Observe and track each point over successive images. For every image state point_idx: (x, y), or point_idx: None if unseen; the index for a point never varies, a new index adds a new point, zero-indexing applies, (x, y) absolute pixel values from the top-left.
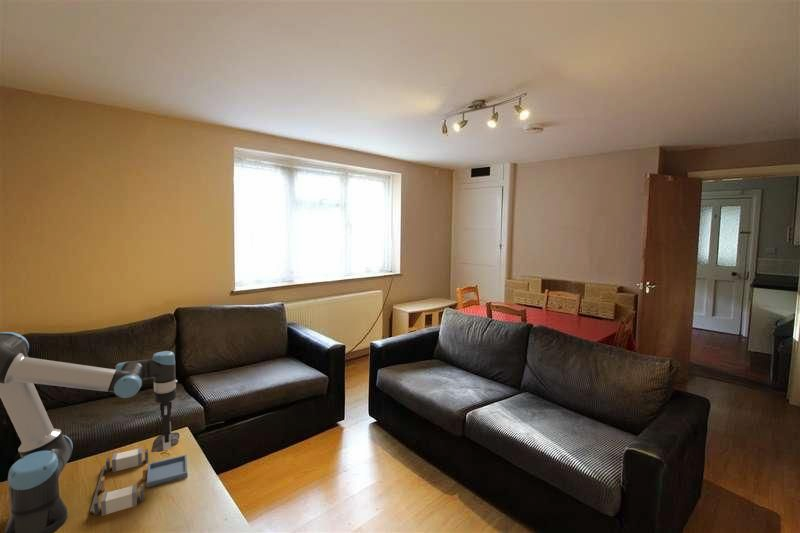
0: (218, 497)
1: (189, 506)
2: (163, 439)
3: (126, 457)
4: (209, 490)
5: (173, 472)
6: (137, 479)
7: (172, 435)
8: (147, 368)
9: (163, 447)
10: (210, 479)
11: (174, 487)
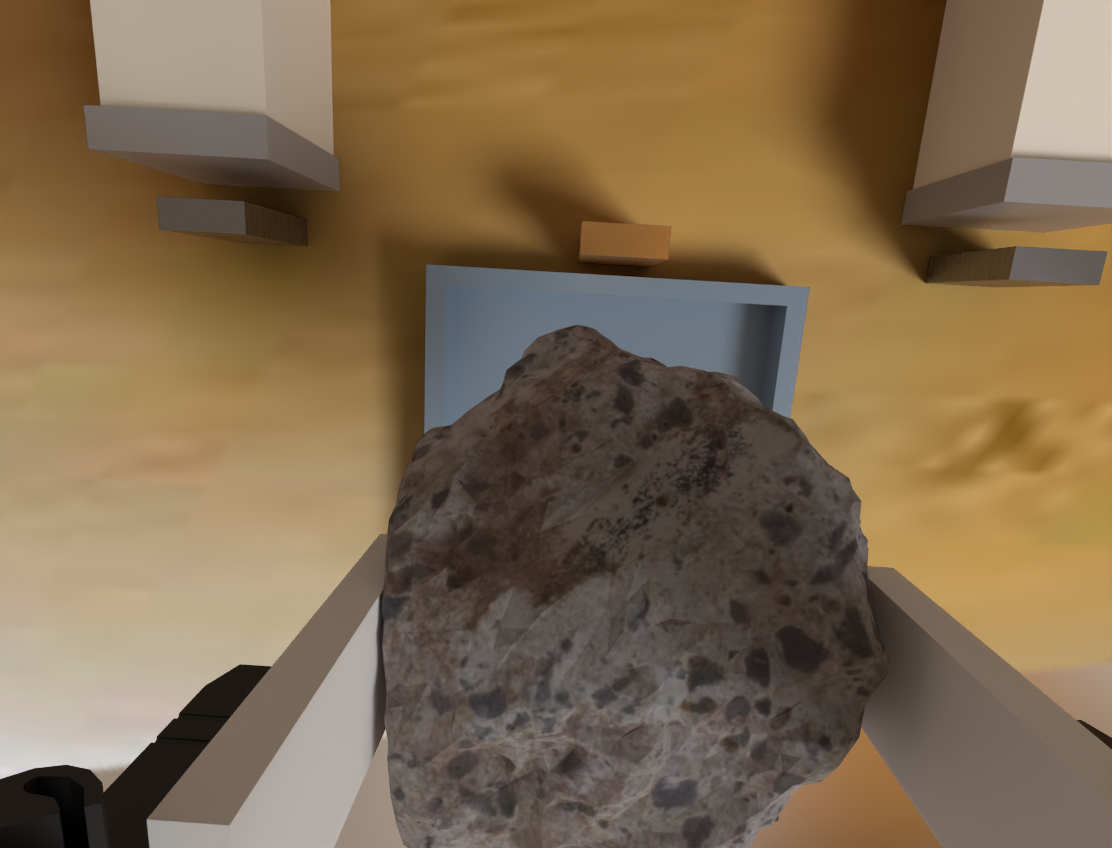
0: (49, 741)
1: (21, 560)
2: (267, 692)
3: (1039, 9)
4: (162, 702)
5: None
6: (640, 185)
7: (594, 820)
8: None
9: (356, 567)
10: None
11: (329, 481)
